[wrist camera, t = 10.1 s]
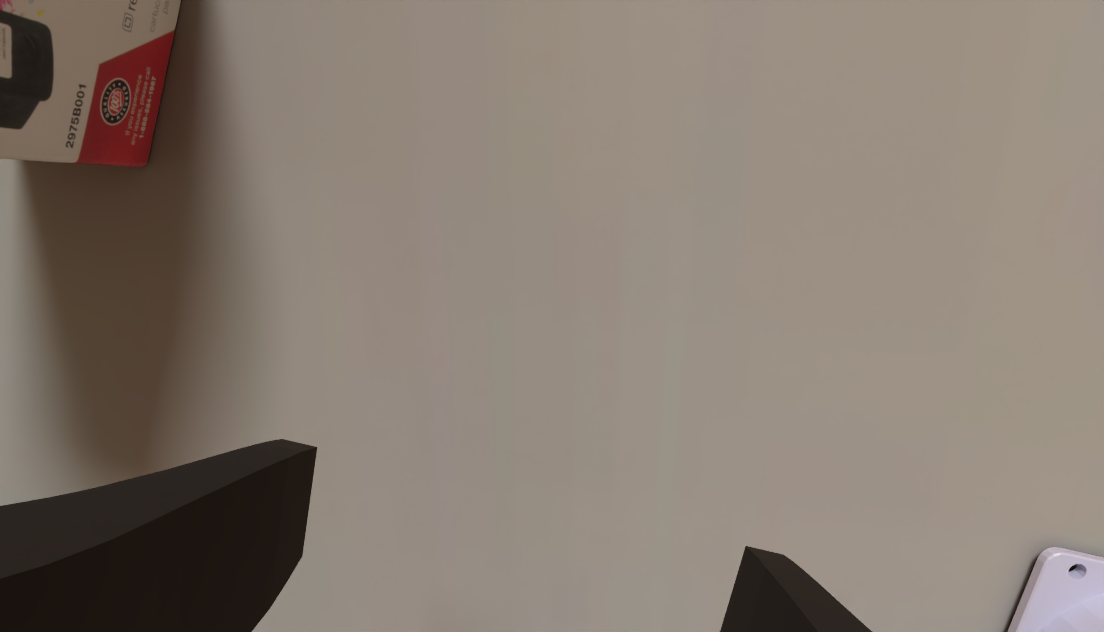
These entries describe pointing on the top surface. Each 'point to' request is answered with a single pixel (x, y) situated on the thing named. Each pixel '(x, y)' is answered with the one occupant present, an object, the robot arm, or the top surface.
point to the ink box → (83, 78)
